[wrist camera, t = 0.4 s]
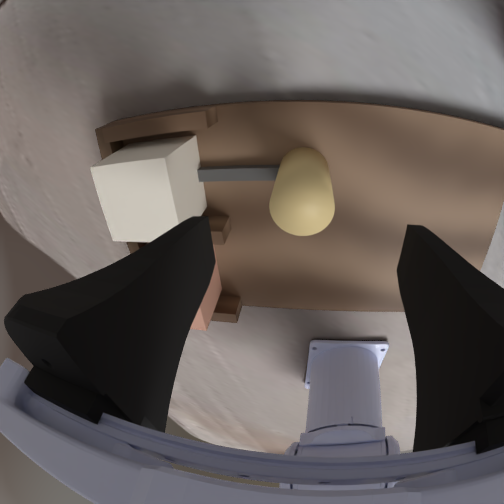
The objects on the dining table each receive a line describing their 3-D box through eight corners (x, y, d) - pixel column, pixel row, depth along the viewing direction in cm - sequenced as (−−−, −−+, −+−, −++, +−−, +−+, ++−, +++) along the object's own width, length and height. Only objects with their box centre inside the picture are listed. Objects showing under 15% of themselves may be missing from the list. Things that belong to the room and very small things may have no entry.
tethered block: (327, 208, 18) (331, 254, 14) (144, 207, 21) (109, 245, 17) (329, 131, 16) (337, 156, 12) (129, 143, 18) (85, 171, 14)
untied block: (222, 289, 24) (206, 330, 21) (167, 284, 25) (146, 322, 22) (212, 237, 21) (191, 277, 18) (152, 236, 22) (125, 272, 19)
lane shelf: (458, 303, 22) (467, 327, 20) (162, 290, 27) (149, 312, 25) (509, 130, 13) (533, 143, 10) (115, 120, 18) (90, 131, 16)
